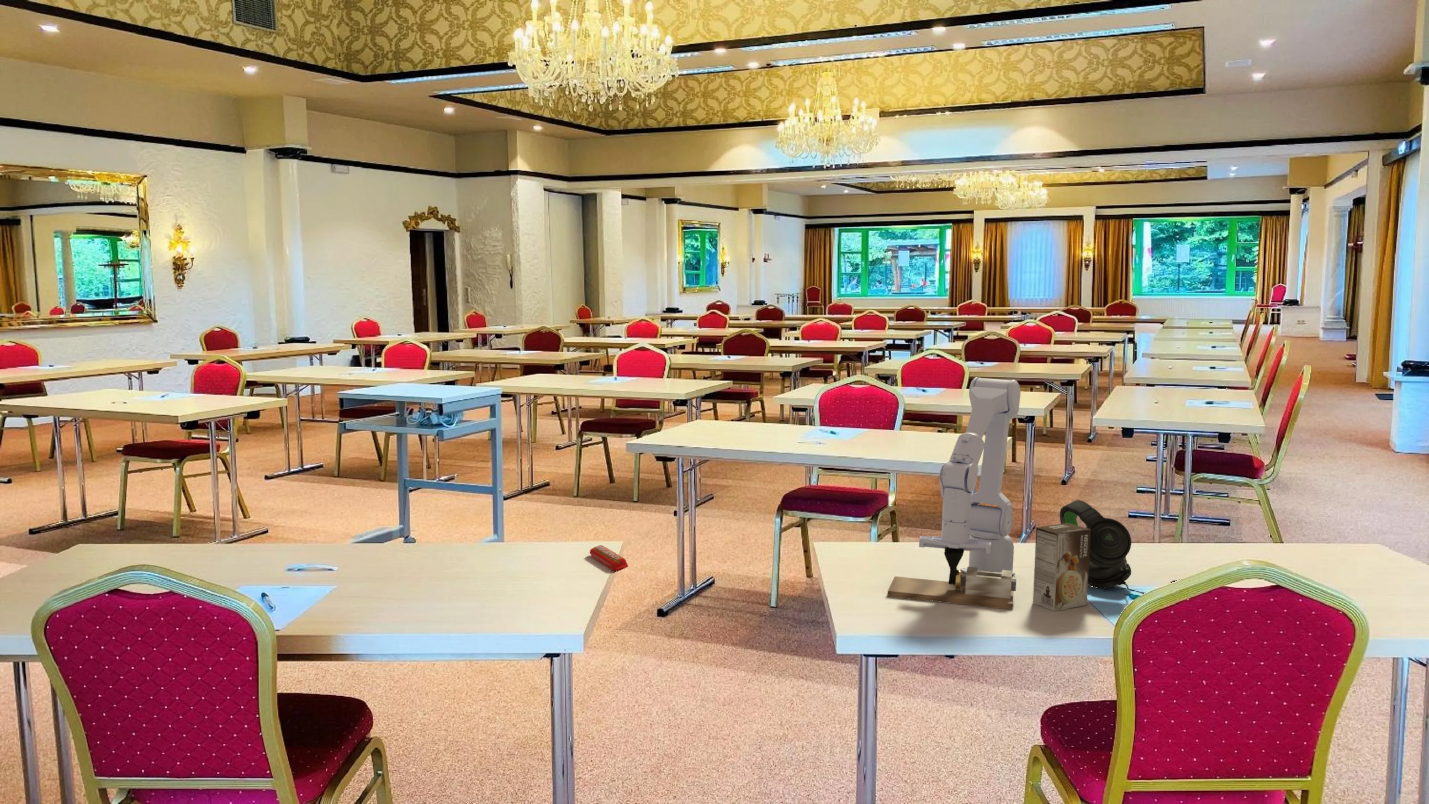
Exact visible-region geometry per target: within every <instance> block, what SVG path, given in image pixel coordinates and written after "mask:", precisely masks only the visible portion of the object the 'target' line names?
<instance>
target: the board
mask: <svg viewBox="0 0 1429 804" xmlns="http://www.w3.org/2000/svg"><path fill="white" fill-rule="evenodd" d="M966 568H967V572H966V573H965V574H966V586H961V589H956V585H953V583H952V584H949V581H945V580H936V579H926V578H914V577H907V576H905V577H904V576H896V575H894V577H893V579H892V581H891V584H890V586H889V588H888V589H887V597H890V598H891V597H892V598H899V599H907V598H910V599H909V600H917V599H919V600H918V601H926V600H933V601H932V602H936V601H941V602H940V603H945V602H950V603H949V604H955V603H956V604H957V605H966V606H976V607H983V608H984V607H985V608H994V609H995V608H996V609H1005V610H1013V608H1014V607H1013V604H1014V592H1015V591H1011V581H1012V579H1013V575H1012V571H1009V570H1002V573H1000V572H990V571H979V570H977V567H969V566H967V567H966Z"/></svg>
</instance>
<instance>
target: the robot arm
mask: <svg viewBox="0 0 1429 804" xmlns="http://www.w3.org/2000/svg"><path fill="white" fill-rule="evenodd" d="M968 390H969V391H968V396H969V397H968V398H969V401H970V406H971V412H970V415H969V418H968V423H967V426H966V429H965V432H964V433H961V434H960V435H959V436H958V438H957V440H956V442H955V445H954V446H953V447H954V448H953V451H952V452H951V455H950V458H949V461H947V462H946V463H943V464H942V466H941V468H940V471H939V475H938V476H939V478H938V482H939V486H940V496H941V498H942V516H941V536H923V535H920V536H919V540H918V541H919V542H918V548H933V549H934V548H935V549H944V552H943V553H944V556H945V559H946V562H947V564H948V566H949V575H948V582H949V584H952V583H953V585H956V572H957V570H958V565H959V564H960V562H961V560H962V558H963V556H964V553H965V551H966V552H969V554H968V556H969V557H968V567H977V570H979V571H990V572H1000V573H1002V570H1009V571H1012V576H1015V575H1016V572H1014V571H1013V569H1014V552H1015V550H1014V549H1015V546H1014V543H1013V539H1012V538H1011V536H1010V535H1009V534H1011V533H1010V532H1011V531H1012V528H1013V523H1014V519H1013V518H1014V517H1013V515H1014V514H1013V503H1012V501H1010V500H1009V498H1007V497H1006V495H1004V493H1003V492H1002V488H1003V479H1004V471H1005V463H1006V462H1005V460H1006V453H1007V445H1008V437H1009V429H1010V428H1009V427H1010V425H1011V423H1010V422H1011V420H1012V419H1015V418H1018V413H1019V410H1020V403H1021V386H1020V384H1019V382H1018V381H1017V380H1016V379H999V378H985V377H984V378H982V377H978V376H976V377H974V378H973V379H972V380H971V381H970V385H969V389H968ZM984 435H985V436H984ZM983 437H984V439H983ZM982 454H983V455H982ZM981 457H982V462H981V468H980V477H979V479H980V480H979V487H978V491H976V492H974V493H973V491H974V490H975V488H976V485H977V482H978V473H979V466H978V465H979V463H980V460H981ZM972 493H973V494H972ZM983 504H985V505H983ZM991 505H993V506H991ZM997 506H998V507H997ZM959 570H962V573H963V574H966V572H967V567H964V568H960V569H959Z"/></svg>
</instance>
